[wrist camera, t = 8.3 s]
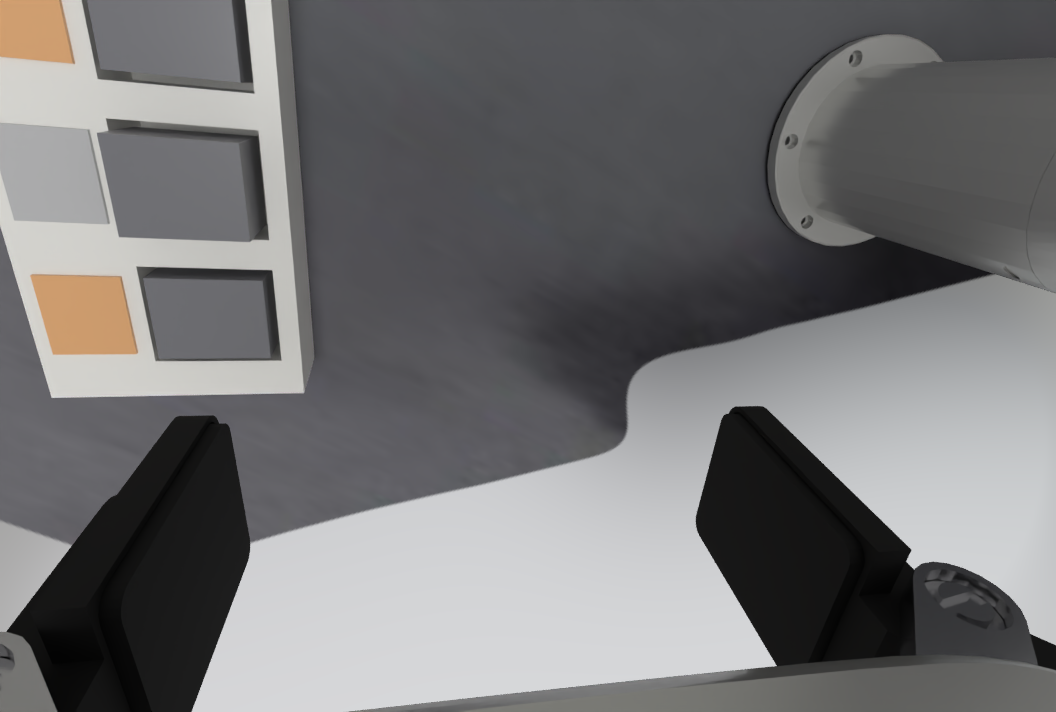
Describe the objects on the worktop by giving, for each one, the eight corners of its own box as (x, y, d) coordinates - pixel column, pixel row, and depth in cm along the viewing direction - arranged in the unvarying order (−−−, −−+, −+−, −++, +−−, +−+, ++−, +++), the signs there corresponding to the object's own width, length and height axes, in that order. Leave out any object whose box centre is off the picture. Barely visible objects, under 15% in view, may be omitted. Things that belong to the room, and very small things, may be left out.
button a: (248, -21, 25) (227, -36, 22) (258, 82, 27) (240, 82, 24) (117, -38, 24) (75, -57, 21) (136, 71, 26) (100, 69, 23)
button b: (257, 136, 27) (238, 143, 24) (266, 224, 29) (250, 242, 25) (133, 126, 26) (96, 132, 22) (151, 219, 27) (118, 237, 24)
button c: (276, 260, 31) (262, 281, 28) (283, 331, 33) (270, 358, 29) (170, 257, 30) (142, 278, 26) (183, 330, 31) (159, 358, 28)
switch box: (282, -73, 26) (261, -103, 22) (314, 358, 35) (303, 394, 31) (-29, -122, 23) (-121, -166, 19) (94, 359, 32) (49, 399, 28)
